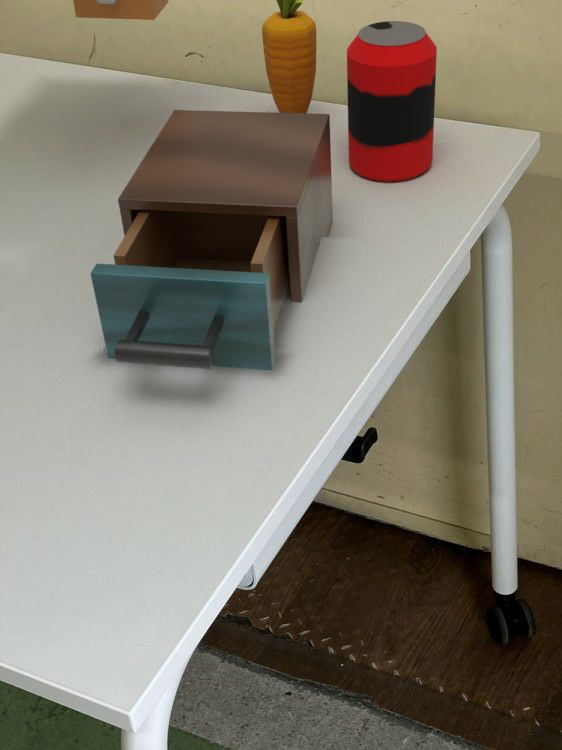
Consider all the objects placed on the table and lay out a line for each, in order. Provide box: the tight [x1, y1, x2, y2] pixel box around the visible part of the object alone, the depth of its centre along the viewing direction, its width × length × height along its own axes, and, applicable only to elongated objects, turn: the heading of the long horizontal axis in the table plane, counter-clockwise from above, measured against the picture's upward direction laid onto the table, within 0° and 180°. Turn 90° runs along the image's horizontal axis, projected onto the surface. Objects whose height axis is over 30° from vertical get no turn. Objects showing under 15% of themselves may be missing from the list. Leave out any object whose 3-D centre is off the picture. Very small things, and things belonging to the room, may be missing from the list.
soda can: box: [346, 20, 438, 183], centre depth 88 cm, size 8×8×12 cm
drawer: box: [90, 210, 290, 371], centre depth 69 cm, size 18×11×8 cm, turn 169°
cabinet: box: [117, 109, 334, 303], centre depth 77 cm, size 15×13×10 cm
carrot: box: [261, 0, 317, 113], centre depth 93 cm, size 5×5×15 cm
